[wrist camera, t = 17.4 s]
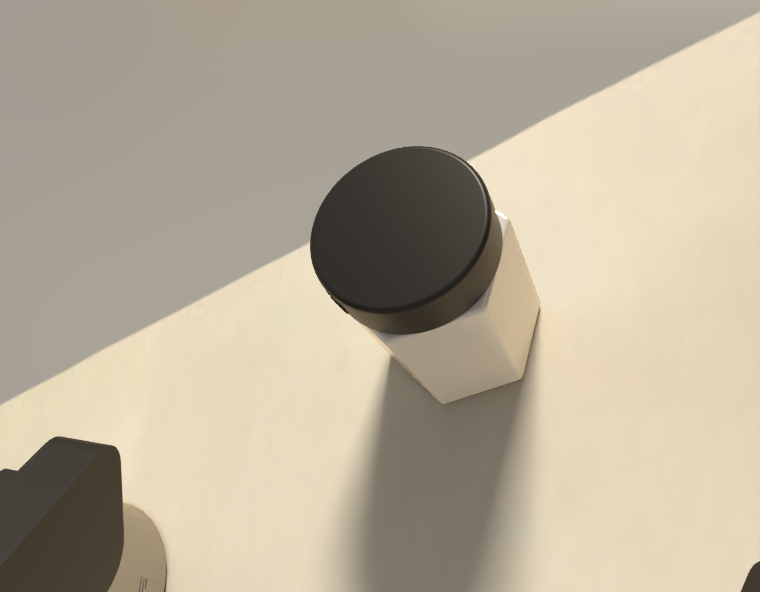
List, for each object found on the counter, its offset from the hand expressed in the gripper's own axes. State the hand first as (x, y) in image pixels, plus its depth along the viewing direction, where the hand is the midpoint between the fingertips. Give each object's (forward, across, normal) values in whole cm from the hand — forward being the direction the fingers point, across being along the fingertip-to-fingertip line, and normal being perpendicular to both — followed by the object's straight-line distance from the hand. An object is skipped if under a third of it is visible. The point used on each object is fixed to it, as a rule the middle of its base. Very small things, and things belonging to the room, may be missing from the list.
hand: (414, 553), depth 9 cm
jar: (+29, -2, +10) cm, 31 cm away
